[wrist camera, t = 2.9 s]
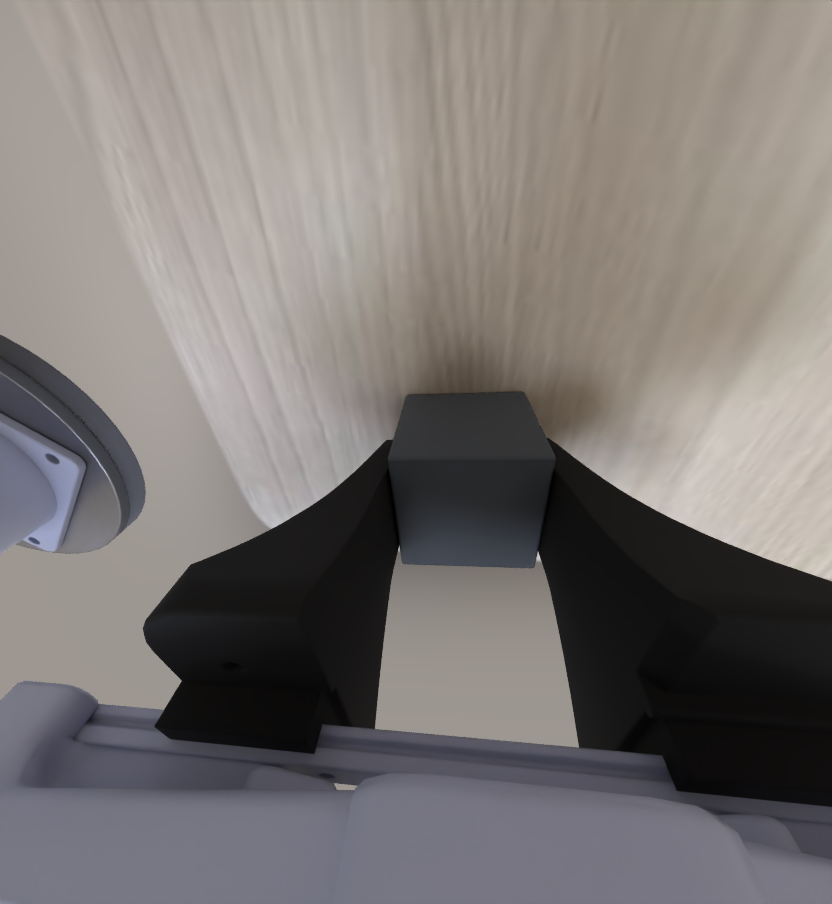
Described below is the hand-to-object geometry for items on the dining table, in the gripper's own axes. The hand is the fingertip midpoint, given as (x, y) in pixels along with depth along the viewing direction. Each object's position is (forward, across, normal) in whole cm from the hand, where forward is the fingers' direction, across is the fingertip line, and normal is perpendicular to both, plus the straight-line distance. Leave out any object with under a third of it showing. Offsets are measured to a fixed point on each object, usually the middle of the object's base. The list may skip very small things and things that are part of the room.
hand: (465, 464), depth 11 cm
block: (+1, 0, 0) cm, 1 cm away
